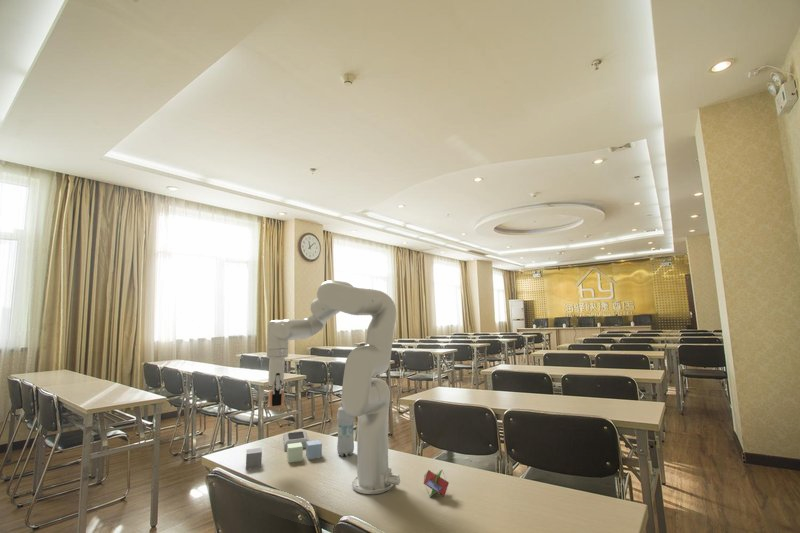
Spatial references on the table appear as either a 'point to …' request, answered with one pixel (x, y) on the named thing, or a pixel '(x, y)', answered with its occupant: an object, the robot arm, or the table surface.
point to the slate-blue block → (313, 449)
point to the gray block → (253, 458)
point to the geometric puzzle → (435, 482)
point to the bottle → (345, 432)
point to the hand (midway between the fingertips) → (276, 403)
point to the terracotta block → (271, 398)
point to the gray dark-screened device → (295, 438)
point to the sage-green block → (294, 452)
